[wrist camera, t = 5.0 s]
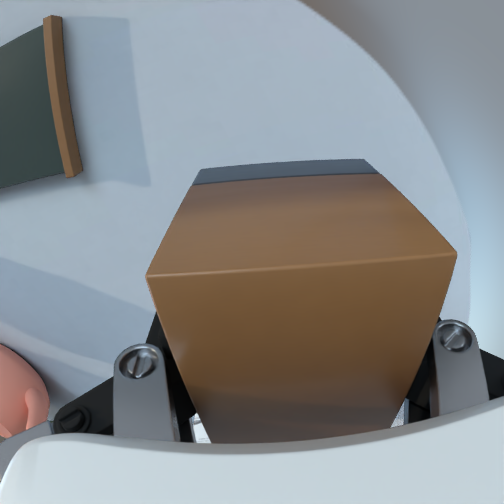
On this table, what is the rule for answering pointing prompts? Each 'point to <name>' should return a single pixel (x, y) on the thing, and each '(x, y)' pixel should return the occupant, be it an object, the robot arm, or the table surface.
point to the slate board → (36, 108)
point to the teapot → (20, 395)
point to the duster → (298, 298)
